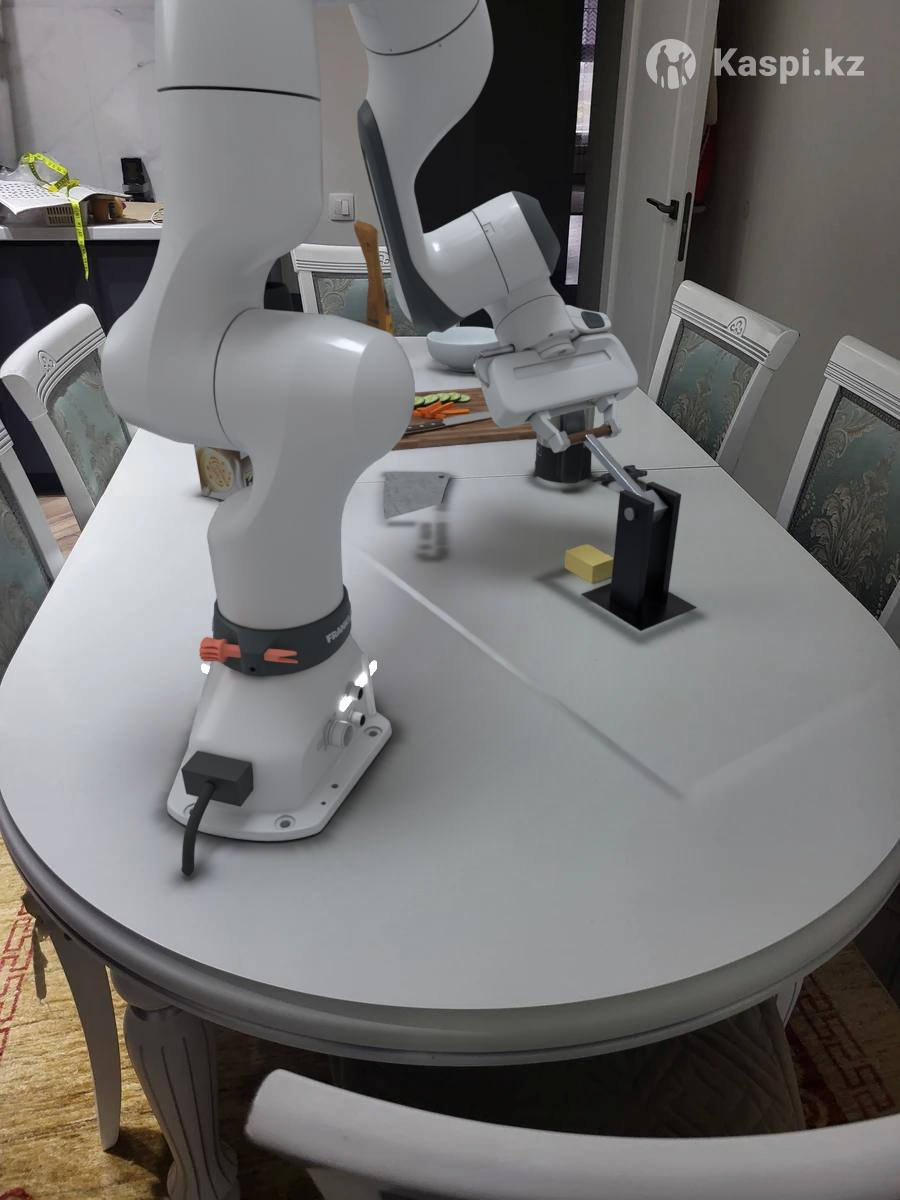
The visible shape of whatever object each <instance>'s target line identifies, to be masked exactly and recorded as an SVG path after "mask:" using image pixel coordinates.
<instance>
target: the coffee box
mask: <svg viewBox="0 0 900 1200" xmlns="http://www.w3.org/2000/svg"><path fill="white" fill-rule="evenodd" d="M193 449H194V453H195V454H194V455H195V461H196V467H197V472H198V477H199V484H200V490H201V495H202V496H204V497H210V498H213V499H217V500H221V501H225V500H226V499H227V498H228V497H230V496H231V495H233V494H234V493H236V492H238V491H240V490H242V489H244V488H246V487H248V486H250V485H252V484H253V466H252V462H251V459H250V457H249V455H248V453H244V452H242V451H235V450H228V449H221V448H214V447H207V446H200V445H193Z"/></svg>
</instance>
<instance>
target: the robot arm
mask: <svg viewBox="0 0 900 1200" xmlns="http://www.w3.org/2000/svg"><path fill="white" fill-rule="evenodd" d="M346 5H347V6H348V10H349V12H350V15H351V18H352V21H353V24H354V25H355V29H356V31H357V33H358V36H359V39H360V42H361V43H362V46H363V48H364V52H365V55H366V58H367V64H368V67H367V68H368V81H367V91H366V96H365V98H364V99H363V101H362V103H361V105H360V106H359V108H358V109H357V112H356V122H357V124H356V126H357V134H358V139H359V145H360V149H361V153H362V159H363V163H364V166H365V171H366V175H367V179H368V182H369V187H370V190H371V193H372V194H371V195H372V198H373V202H374V205H375V209H376V213H377V218H378V220H379V224H380V228H381V232H382V235H383V239H384V243H385V247H386V248H385V249H386V252H387V256H388V261H389V266H390V278H391V284H392V289H393V293H394V296H395V299H396V301H397V304H398V306H399V308H400V310H401V311H402V313H403V314H404V316H405V317H406V319H407V320H408V321H409V322H411V324H412V326H414V327H417V328H420V329H423V330H425V331H430V332H433V331H434V332H441V333H443V332H444V331H446V330H448V329H449V328H452V327H455V326H456V325H457V324H459V323H460V322H462V321H464V320H465V319H466V318H467V317H468V316H471V315H472V314H474V313H476V312H478V311H480V310H482V309H484V311H485V312H486V313H487V314H488V316H489V317H490V319H491V322H492V327H493V328H492V329H494V332H495V335H496V337H497V339H498V341H499V343H500V346H501V347H497V348H494V349H485V350H482V351H480V352H479V354H478V355H477V356H476V357H475V359H474V362H473V368H474V373H475V375H476V377H477V379H478V381H479V382H480V386H481V387H482V391H483V394H484V398H485V401H486V404H487V407H488V409H489V412H490V415H491V417H492V419H493V421H494V422H495V423H496V424H497V425H498V426H500V427H501V428H508V427H512V426H517V425H521V424H525V423H529V422H530V424H531V426H532V428H533V430H534V431H535V432H536V433H538V434H539V435H540V436H541V437H543V438H544V439H545V440H547V441H548V442H549V444H550V446H551V448H552V451H553V452H554V453H557V452H560V451H564V450H566V449H567V448H568V447H569V446H570V440H569V439H568V438H567V434H566V432H565V431H562V432H559V431H558V430H557V429H556V428H555V427H554V426H553V425H552V424H551V423H550V422H549V420H550V419H551V417H554V416H558V415H562V414H566V413H570V412H574V411H578V410H582V409H587V408H591V407H595V408H596V409H597V411H598V413H599V414H602V413H603V424H601V425H600V426H599V427H602V426H605V425H606V426H608V427H609V428H610V434H609V435H608V436H604V437H603V438H604V439H605V440H608V439H611V438H616V437H618V436H619V435H620V434H621V433H622V431H623V430H622V429H623V428H622V427H621V424H620V422H619V420H618V406H619V405H618V404H619V403H618V402H619V401H623V400H625V399H626V398H627V397H628V396H630V395H631V394H632V393H633V392H634V391H635V390H636V389H637V388H638V385H639V374H638V371H637V370H636V368H635V365H634V363H633V361H632V359H631V357H630V355H629V354H628V352H627V350H626V348H625V347H624V345H623V344H622V342H621V341H620V339H619V338H618V337H617V336H615V335H614V334H613V333H610V332H609V330H610V329H611V328H612V323H611V321H610V319H609V317H608V315H607V314H606V313H603V312H598V311H594V310H587V309H583V308H579V307H576V306H573V305H569V304H566V303H565V301H564V300H563V298H562V295H560V294H559V292H558V291H557V290H556V289H555V288H554V286H553V285H552V283H551V280H550V277H551V276H553V274H554V272H555V270H556V266H557V263H558V259H559V256H560V253H561V245H560V241H559V239H558V237H557V236H556V233H555V232H554V230H553V228H552V226H551V224H550V223H549V221H548V219H547V217H546V215H545V214H544V211H543V209H542V207H541V204H540V201H539V200H538V199H536V198H535V197H533V196H531V195H528V194H527V193H523V192H520V191H517V190H516V191H515V190H511V191H509V192H506V193H503V194H500V195H499V196H496V197H494V198H492V199H490V200H488V201H486V202H484V203H483V204H480V205H479V206H477V207H475V208H473V209H471V211H469V212H467V213H465V214H463V215H461V216H460V217H458V218H456V219H454V220H452V221H450V222H448V223H446V224H444V225H442V226H441V227H438V228H436V229H434V230H432V231H430V232H426V233H424V230H423V225H422V222H421V216H420V213H419V212H420V211H419V207H418V203H417V197H416V193H415V182H416V181H415V180H416V177H417V175H418V172H419V170H420V168H421V167H422V165H423V163H424V162H425V160H426V159H427V157H428V156H429V154H431V152H432V151H433V149H435V147H436V146H437V144H439V142H440V141H441V140H442V139H443V138H444V137H445V135H447V133H448V132H449V131H451V130H452V128H453V127H454V126H455V125H456V124H458V123H459V122H460V121H461V120H462V119H463V118H464V116H465V115H466V114H468V112H469V111H470V109H471V108H472V107H473V105H474V104H475V102H476V101H477V99H478V98H479V96H480V95H481V92H482V91H483V88H484V86H485V84H486V82H487V79H488V76H489V73H490V70H491V68H492V67H491V66H492V63H493V59H494V38H493V37H494V36H493V31H492V24H491V19H490V14H489V11H488V10H489V9H488V5H487V2H486V0H154V31H153V33H154V36H153V37H154V66H155V81H156V91H157V94H156V95H157V102H158V103H157V106H158V117H159V118H158V119H159V133H160V146H161V147H160V148H161V166H162V167H161V168H162V190H163V192H162V193H163V196H162V197H163V208H162V209H163V211H162V212H163V213H162V223H161V224H162V226H161V232H160V239H159V244H158V248H157V251H156V252H157V253H156V256H155V259H154V263H153V266H152V269H151V271H150V273H149V276H148V279H147V281H146V284H145V285H144V287H143V290H142V291H141V293H140V294H139V296H138V297H137V299H136V300H135V301H134V302H133V304H132V305H131V306H130V307H129V308H128V309H127V311H125V312H124V313H123V314H122V315H121V316H120V317H118V318H117V320H116V321H115V322H114V323H113V325H112V326H111V327H110V330H109V331H108V333H107V335H106V338H105V340H104V343H103V347H102V351H101V359H100V373H101V382H102V385H103V389H104V393H105V395H106V398H107V399H108V401H109V404H110V405H111V407H112V409H113V410H114V412H115V413H116V414H117V415H118V416H119V417H120V418H121V419H122V420H123V421H124V422H126V423H128V424H130V425H131V426H134V427H136V428H139V429H141V430H144V431H145V432H148V433H151V434H153V435H156V436H158V437H161V438H164V439H167V440H169V441H172V442H175V443H179V444H186V445H187V444H188V445H193V446H194V445H200V446H207V447H214V448H221V449H228V450H235V451H242V452H244V453H248V455H249V457H250V459H251V462H252V466H253V484H252V485H250V486H248V487H246V488H244V489H242V490H240V491H238V492H236V493H234V494H233V495H231V496H230V497H228V498H227V499H226V500H222V502H221V503H220V504H219V505H218V507H217V508H216V509H215V511H214V512H213V515H212V516H211V518H210V521H209V524H208V527H207V531H206V540H207V545H208V551H209V558H210V564H211V570H212V571H211V572H212V578H213V585H214V589H215V590H214V591H215V596H216V598H215V601H214V604H213V615H212V619H211V620H212V622H211V632H212V637H209V636H205V637H204V638H202V640H201V642H200V645H199V651H198V652H199V657H200V660H201V661H202V662H210V663H209V665H207V664H205V663H202V664H201V671H202V673H205V674H206V676H205V681H204V684H203V687H202V691H201V693H200V698H199V702H198V705H197V708H196V713H195V716H194V720H193V723H192V726H191V730H190V735H189V738H188V745H187V748H186V751H185V754H184V756H183V759H182V761H181V764H180V766H179V768H178V772H177V774H176V776H175V779H174V781H173V785H172V786H171V789H170V791H169V794H168V798H167V801H166V808H167V809H166V810H167V813H168V815H170V816H171V817H172V818H173V819H174V820H175V821H177V822H179V823H180V824H182V825H183V826H185V830H184V834H183V840H182V849H181V850H182V851H181V852H182V853H181V872H182V874H183V875H185V876H187V877H190V876H192V874H193V873H194V870H195V853H196V841H197V835H198V832H201V833H205V834H210V835H212V836H213V835H214V836H218V837H223V838H224V837H225V838H228V839H229V838H230V839H236V840H244V841H258V842H259V841H260V842H280V841H291V840H296V839H301V838H307V837H309V836H312V835H313V836H314V835H316V834H319V832H321V831H322V830H323V829H324V828H325V826H326V825H327V824H328V822H330V820H331V819H332V817H333V816H334V815H335V813H336V812H337V810H338V809H339V808H340V806H341V805H342V803H343V802H344V801H345V799H346V798H347V797H348V795H349V794H350V793H351V791H352V790H353V789H354V787H355V786H356V785H357V783H358V782H359V780H360V779H361V777H362V776H363V775H364V774H365V772H366V771H367V770H368V768H369V766H370V765H372V762H373V761H374V760H375V758H376V757H377V756H378V754H379V753H380V752H381V750H382V749H383V748H384V746H385V744H386V743H387V742H388V741H389V739H390V738H391V736H392V734H393V730H392V725H391V722H390V720H389V719H387V717H386V716H384V715H382V714H381V713H379V712H378V711H377V709H376V702H375V693H374V687H373V679H372V675H373V674H374V672H375V671H376V670H377V661H376V660H373V661H372V662H371V663H370V659H369V656H368V655H367V654H366V652H365V651H364V650H363V649H362V648H361V646H360V645H359V644H358V643H357V641H356V640H355V637H353V635H352V633H351V631H352V604H351V600H350V597H349V595H350V594H349V591H348V588H347V586H346V585H345V584H344V581H343V577H344V576H343V561H342V560H343V558H342V524H343V515H344V509H345V505H346V503H347V499H348V497H349V495H350V492H351V491H352V489H353V486H354V485H355V483H356V482H357V481H358V479H359V478H360V477H361V475H362V474H363V473H364V472H366V471H367V469H368V468H370V467H371V466H372V465H374V464H375V463H376V462H378V461H379V460H381V459H382V458H384V457H385V456H387V455H388V454H389V453H390V452H391V451H393V450H392V449H393V448H394V447H395V445H396V444H397V443H398V442H399V441H400V439H401V438H402V436H403V434H404V433H405V431H406V429H407V427H408V425H409V422H410V420H411V417H412V413H413V409H414V402H415V392H416V385H415V384H416V383H415V377H414V372H413V369H412V365H411V362H410V359H409V358H408V355H407V354H406V352H405V349H404V348H403V346H402V345H401V344H400V342H399V340H398V339H397V338H396V337H395V335H394V336H393V335H392V334H390V333H388V332H386V331H383V330H380V329H377V328H374V327H371V326H368V325H366V323H362V322H359V321H356V320H352V319H350V318H346V317H342V316H339V315H335V314H328V313H327V314H325V313H317V312H315V313H314V312H304V311H303V312H302V311H294V312H292V311H280V310H268V309H264V302H263V300H264V290H265V284H266V281H267V280H268V277H269V275H270V271H271V270H272V268H273V265H274V264H275V263H276V261H277V260H278V259H280V258H281V257H283V256H285V255H286V254H288V253H290V252H291V251H293V250H296V249H297V248H298V247H300V246H301V245H302V244H304V243H305V242H306V241H307V240H308V239H309V238H310V237H311V236H312V235H313V233H314V231H315V230H316V229H317V226H318V224H319V223H320V220H321V218H322V215H323V211H324V168H323V167H324V166H323V127H322V124H323V123H322V88H321V86H322V83H321V68H320V55H319V53H320V52H319V44H318V35H317V27H316V26H317V25H316V16H315V10H316V8H330V7H339V6H346ZM479 358H480V359H479Z"/></svg>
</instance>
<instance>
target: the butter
mask: <svg viewBox="0 0 900 1200" xmlns="http://www.w3.org/2000/svg"><path fill="white" fill-rule="evenodd" d="M613 559H614V557H613V556H611V555H609V554H607V553H605V552H603V551H601V550H599V549H598V548H597V547H595V546H592V545H591V544H589V543H585V544H581V545H579V546H576V547H573V548H569V549H566V550H565V558H564V569H565V570H567V571H569V572H571V573H573V574H574V575H576V576H577V577H579V578H580V579H582V580H584V581H586V582H587V583H589V584H591V585H592V584H595V583H598V582H601V581H604V580H607V579H608V578H612V569H613Z"/></svg>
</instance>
